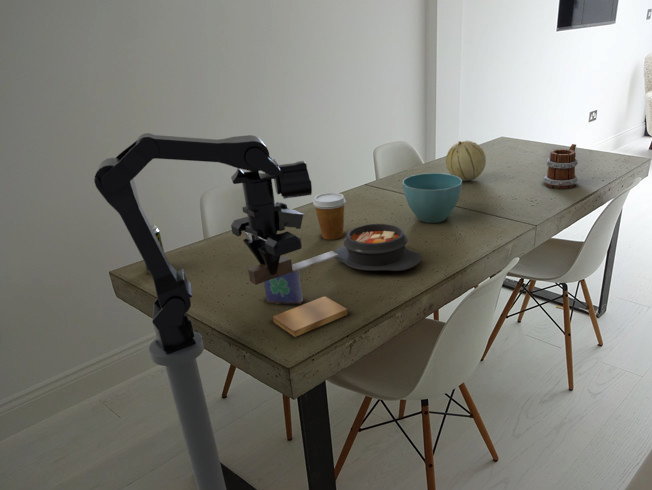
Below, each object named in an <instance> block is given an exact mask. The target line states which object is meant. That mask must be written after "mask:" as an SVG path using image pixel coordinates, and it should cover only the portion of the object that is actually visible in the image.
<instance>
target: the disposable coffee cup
mask: <svg viewBox="0 0 652 490" xmlns="http://www.w3.org/2000/svg"><path fill="white" fill-rule="evenodd" d="M346 203H347V200H346V198H345V196H344V195H343V194H342V193H338V192H325V193H320V194H317V195H316V196H314V199H313V201H312V205H313V206H314V209H315V212H316V216H317V221H318V225H319V229H320V232H321V237H322V239H324V240H337V239H341V238H343V236H344V225H345V224H344V223H345V205H346Z"/></svg>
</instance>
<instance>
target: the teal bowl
mask: <svg viewBox="0 0 652 490" xmlns="http://www.w3.org/2000/svg"><path fill="white" fill-rule="evenodd" d="M462 185H463V181H462V180H461V179H460V178H459V177H457V176H454V175H451V174H450V173H443V172H442V173H441V172H439V173H438V172H429V173H427V172H426V173H419V174H418V173H417V174H414V175H409V176H408V177H405V178H404V179H403V180H402V189H403V193H404V197H405V200H406V202H407V204H408V207H409V208H410V210H411V212H412V213H413V214H414V215H415V217H416V218H417V219H418V220H419V221H421V222H423V223H426V224H437V223H441V222H445V220H447V218H448V217H449V216H450V215H451V213H452V212H453V211H454V209H455V207H456V206H457V203H458V201H459V199H460V196H461V192H462Z"/></svg>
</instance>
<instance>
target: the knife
mask: <svg viewBox="0 0 652 490" xmlns="http://www.w3.org/2000/svg"><path fill="white" fill-rule="evenodd" d="M334 252H335V251H332V250H330V251H328V252H324V253H321V254H319V255H316V256H313V257H310V258H308V259H304V260H302V261H299V262H295V263H293V264H292V258H290V257H288V256H286V255H285V256H284V255H283V256H280V260H279V265H278V270H277V274H275V275H272V274H271V273H270V271H269V269H268V267H267V265H266V264H265V263H263V264H260V263H259V264H258V265H255V266H252V267H248V268H247V272H248V277H249V282H250V283H251V284H253V285H255V286H257V285H259V284H264V282H265V281H268V280H271V279H274V278H277V277H279V276H282V275H285V274H288V273H291V272H295V271H298V270H299V271H300V270H304V269H306V268H308V267H312V266H314V265H317V264H320V263H323V262H325V261H328V260H331V259H335V258H334V257H337V256H338V254H336V253H334Z"/></svg>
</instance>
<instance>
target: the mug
mask: <svg viewBox="0 0 652 490" xmlns="http://www.w3.org/2000/svg"><path fill="white" fill-rule="evenodd" d="M576 148H577V144H575V143H572V144H571V145H570V147H569V148H568V149H567V148H557V149H552V150H550V151H549V157H548V158H547V160H546V165H547V172H546V174H545V175H544V178H543V181H544V182H545V183H544V185H545V186H546V187H548V188H553V189H557V190H558V189H559V190H561V189H562V190H564V189H572V188H573V187H575V186H576V183H577V182H578V176H576V167H577V166H578V164H579V163H578V160H577V157H576V156H577V155H576V153H577V152H576Z"/></svg>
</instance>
